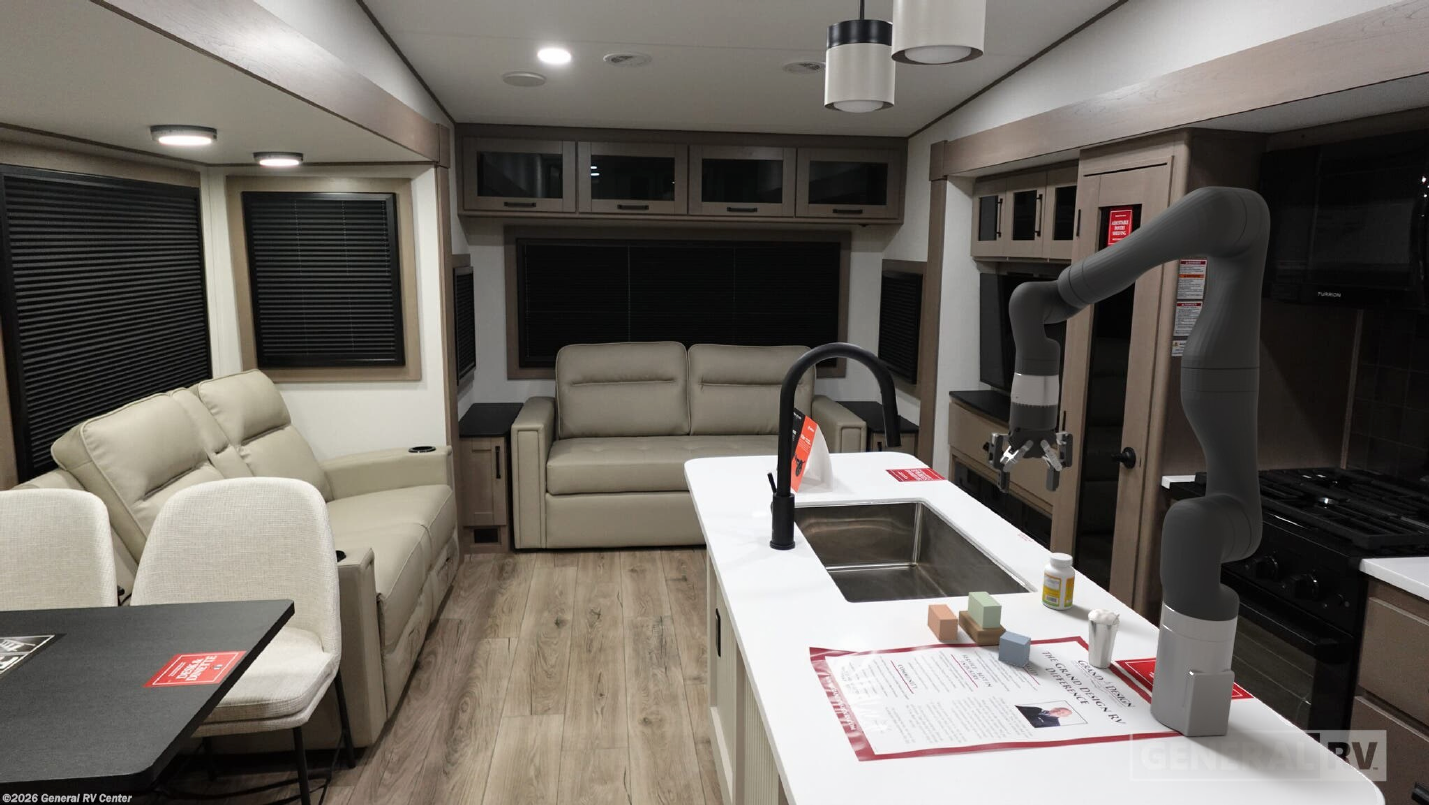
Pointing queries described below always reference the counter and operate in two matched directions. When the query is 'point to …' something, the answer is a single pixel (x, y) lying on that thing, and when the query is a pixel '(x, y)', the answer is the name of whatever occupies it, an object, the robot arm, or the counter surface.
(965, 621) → the walnut block
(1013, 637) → the slate brick
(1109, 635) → the milkshake
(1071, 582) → the supplement bottle
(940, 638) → the terracotta brick
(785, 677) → the counter surface
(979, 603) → the sage brick
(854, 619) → the counter surface
